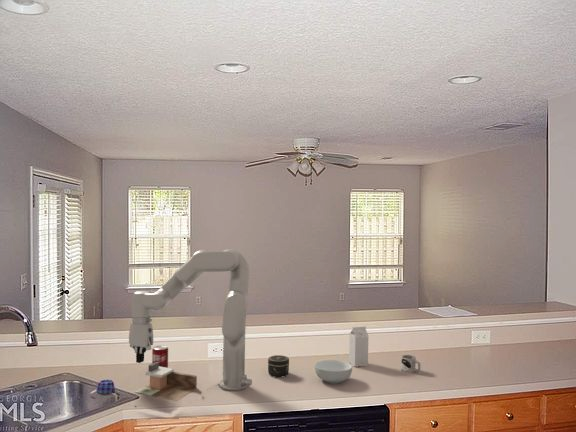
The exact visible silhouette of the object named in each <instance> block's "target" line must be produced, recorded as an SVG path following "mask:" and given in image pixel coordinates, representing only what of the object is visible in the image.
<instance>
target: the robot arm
mask: <svg viewBox="0 0 576 432" xmlns="http://www.w3.org/2000/svg"><path fill="white" fill-rule="evenodd" d="M209 272H210V273H211V272H212V273H214V272H218V273H219V272H229V280H228V282H229V283H228V290H227V296H226V297H225V300H224V307H223V314H222V325H221V333H222V337H223V341H222V343H223V344H222V345H223V346H222V380H220V381H219V383H218V386H219V388H220V389H222V390H225V391H241V390H244V389H246V388H247V387H248V386H252V385H253V380H252V378H248V377H247V374H245V372H246V371H245V370H246V369H245V368H246V367H245V366H246V364H245V363H246V361H245V359H246V356H245V355H246V329H247V328H246V325H247V324H246V319H247V311H248V294H249V293H248V292H249V282H250V281H249V280H250V269H249V264H248V262H247V260H246V257H244V256H243V254H242V253H240V252H239V251H238V250H236V249H234V248H226V249H224V250H223V251H208V250H206V249H200V250H197V251H196V252H194V253H193V255H192V256H191V257H189V258H188V260H186V261H185V262H184V263H183V264H182V265H181V266H180V267H179V268H178V269H177V270H176V271H175V272H174V273H173V275H172V276H171V277H170V279H168V280H166V282H165V283H164V284H163V285H162V286H161V287H160V288H159V289H158V290H156V291H155V292H153V293H151V292H150V291H148V290H147V291H146V290H138V291H135V292H133V294H132V311H131V312H132V314H131V315H132V316H131V317H132V318H131V323H130V326H129V333H128V344H129V347H130V348H132V349H133V350H134V353H135V354H136V355H135V358H136V360H135V361H136V362H135V363H138V364H140V363H143V362H144V361H145V353H146V352H147V351H150V350H152V346H154V328H153V323H152V322H153V321H152V320H153V319H152V318H151V310H153V311H162V310H163V309H165V307H167V305H169V304H170V302H172V301H173V300H174V299H175V297H177V296H178V295H179V294H180V293H181V292H182V291H183V290H184V289H186V288H188V287H190V285H192V284H193V282H195V281H196V280H197V279H198V278H199V277H200V276H202V275H203V273H209Z"/></svg>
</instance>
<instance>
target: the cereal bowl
mask: <svg viewBox="0 0 576 432" xmlns="http://www.w3.org/2000/svg"><path fill="white" fill-rule="evenodd" d="M352 371H353V365H352V364H350V363H349V362H347V361H343V360H337V359H336V360H335V359H326V360H320V361H318V362H316V363H315V364H314V372H315V374H316V376H317V377H318V378H319V379H321V380H323V381H325V382H326V383H328V382H329V383H328V384H339V383H342V382H343V381H346V380H347V379H349V378H350V377H351V375H352V373H353V372H352Z"/></svg>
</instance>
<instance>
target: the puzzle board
mask: <svg viewBox="0 0 576 432" xmlns="http://www.w3.org/2000/svg"><path fill="white" fill-rule="evenodd" d="M197 379H198V377H197V375H196V374H195V375H194V374H189V373H183V372H177V371H173V372H171V373H169V374H168V375H167V386H165V387H163V388H161V389H160V390H159V389H154V388H150V383H149V384H148V385H146V386H143V387H142V388H140V389H138V390H136V391H134V392H133V393H135V394H139V395H145V396H150V397H154V398H159V399H165V400H169V401H175V402H177V401H179V400H182V398H184V397H186V396H187V395H188V394H191V393H192V392H193V391H195V390H197V389H198V388H197V385H198V383H197V382H198V380H197Z"/></svg>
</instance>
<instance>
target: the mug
mask: <svg viewBox="0 0 576 432" xmlns="http://www.w3.org/2000/svg"><path fill="white" fill-rule="evenodd" d="M400 364H401V365H400V366H401V368H400V369H401V371H402V370H403V371H405V372H404V373H407V372H413V373H415V372H417V373H418V372H420V371H421V362H420V361H419V360H417V359H416V356H414V355H410V354H403V355H401V363H400ZM416 364H417V367H418V368H416ZM403 371H402V372H403ZM414 371H415V372H414Z"/></svg>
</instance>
